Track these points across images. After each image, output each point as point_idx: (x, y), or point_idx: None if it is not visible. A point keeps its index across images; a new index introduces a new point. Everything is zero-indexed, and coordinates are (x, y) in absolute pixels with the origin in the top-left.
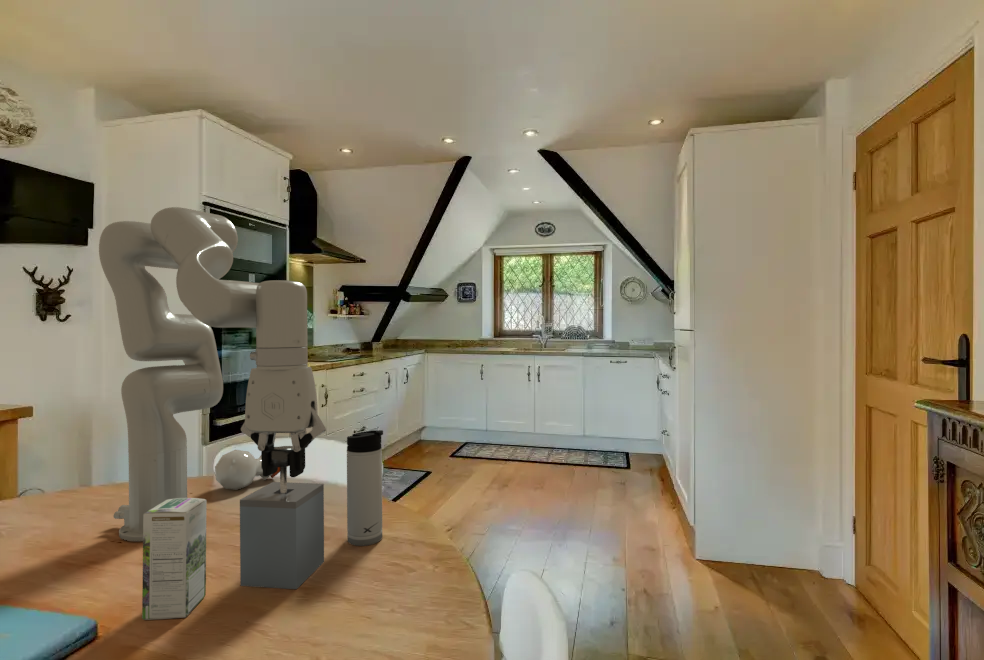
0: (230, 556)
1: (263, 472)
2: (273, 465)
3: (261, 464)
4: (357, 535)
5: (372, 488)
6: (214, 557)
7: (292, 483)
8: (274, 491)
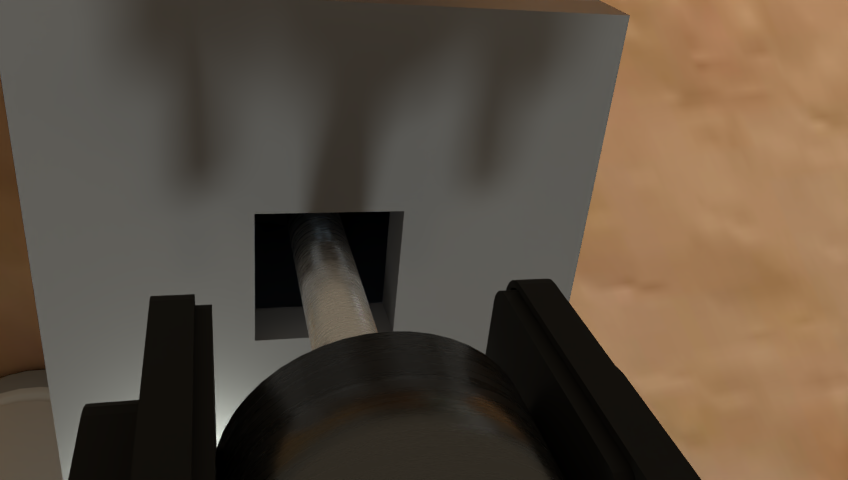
0: (609, 192)
1: (555, 297)
2: (445, 343)
3: (635, 391)
4: (34, 402)
5: None
6: (673, 175)
7: None
8: (412, 261)
